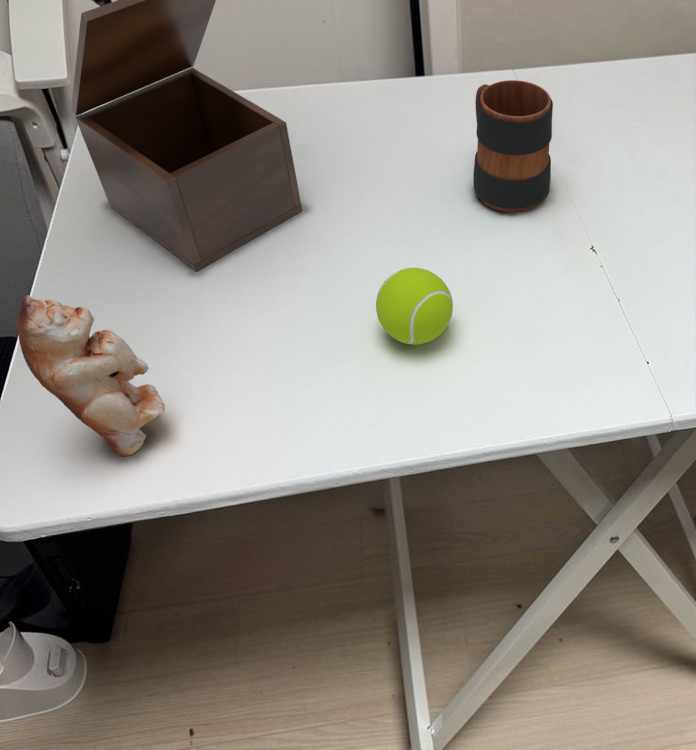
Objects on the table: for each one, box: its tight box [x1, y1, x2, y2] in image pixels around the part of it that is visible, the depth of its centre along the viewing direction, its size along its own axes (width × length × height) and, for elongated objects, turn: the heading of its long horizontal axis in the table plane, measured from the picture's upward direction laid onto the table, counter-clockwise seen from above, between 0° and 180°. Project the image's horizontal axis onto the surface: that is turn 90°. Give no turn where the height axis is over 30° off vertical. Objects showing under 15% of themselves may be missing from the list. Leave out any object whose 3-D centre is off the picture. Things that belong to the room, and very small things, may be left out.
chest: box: [75, 67, 303, 272], centre depth 87 cm, size 16×14×11 cm
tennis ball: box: [375, 267, 454, 345], centre depth 76 cm, size 7×7×7 cm
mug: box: [472, 79, 554, 214], centre depth 91 cm, size 9×12×12 cm
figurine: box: [16, 294, 165, 457], centre depth 65 cm, size 6×8×15 cm
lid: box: [70, 0, 217, 117], centre depth 78 cm, size 17×14×5 cm
